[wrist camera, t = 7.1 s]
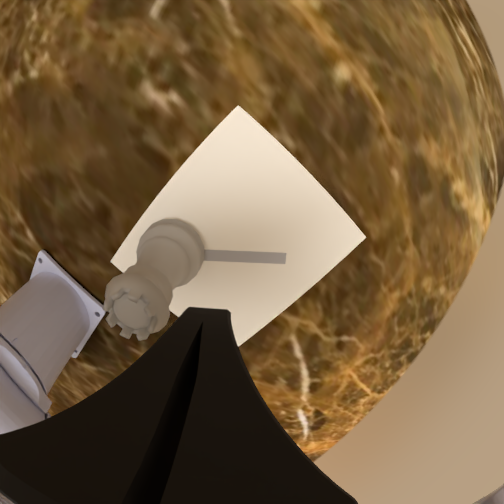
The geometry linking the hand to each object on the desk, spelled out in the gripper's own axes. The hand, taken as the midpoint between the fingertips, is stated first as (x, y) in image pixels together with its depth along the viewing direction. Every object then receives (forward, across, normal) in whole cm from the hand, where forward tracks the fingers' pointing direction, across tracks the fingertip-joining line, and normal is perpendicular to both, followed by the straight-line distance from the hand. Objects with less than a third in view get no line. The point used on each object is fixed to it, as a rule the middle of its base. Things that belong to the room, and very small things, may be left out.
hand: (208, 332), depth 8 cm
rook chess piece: (+10, +4, +1) cm, 11 cm away
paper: (+10, 0, +1) cm, 10 cm away
